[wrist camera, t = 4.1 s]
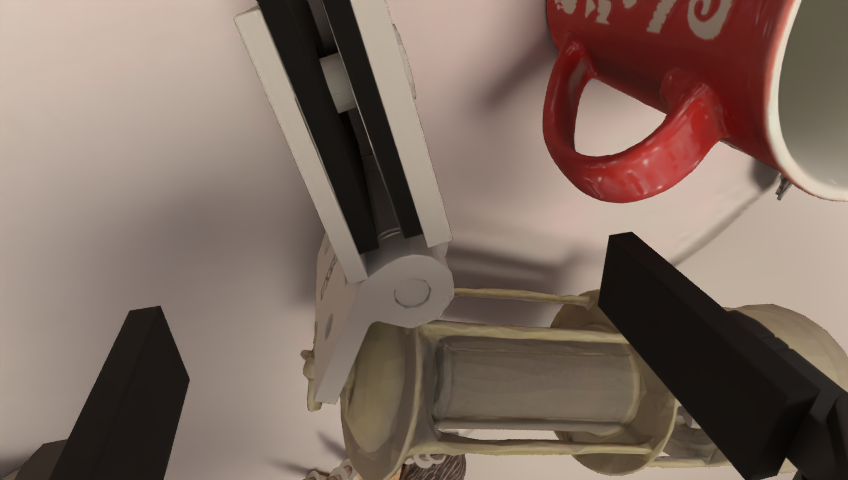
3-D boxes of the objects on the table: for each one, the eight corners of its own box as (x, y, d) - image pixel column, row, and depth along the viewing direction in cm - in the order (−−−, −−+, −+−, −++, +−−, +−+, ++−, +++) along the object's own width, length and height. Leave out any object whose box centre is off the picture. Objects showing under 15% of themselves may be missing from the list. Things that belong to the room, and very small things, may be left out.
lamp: (868, 497, 26) (319, 562, 14) (658, 439, 38) (255, 445, 25) (856, 303, 28) (361, 204, 16) (659, 304, 40) (284, 247, 27)
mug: (677, -184, 20) (1194, -373, 8) (727, 17, 25) (1103, 71, 13) (423, 13, 21) (569, 79, 10) (516, 167, 26) (688, 333, 15)
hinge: (312, 410, 17) (318, 262, 26) (464, 385, 18) (419, 249, 26) (210, -58, 10) (264, -44, 19) (459, -69, 11) (401, -51, 20)
